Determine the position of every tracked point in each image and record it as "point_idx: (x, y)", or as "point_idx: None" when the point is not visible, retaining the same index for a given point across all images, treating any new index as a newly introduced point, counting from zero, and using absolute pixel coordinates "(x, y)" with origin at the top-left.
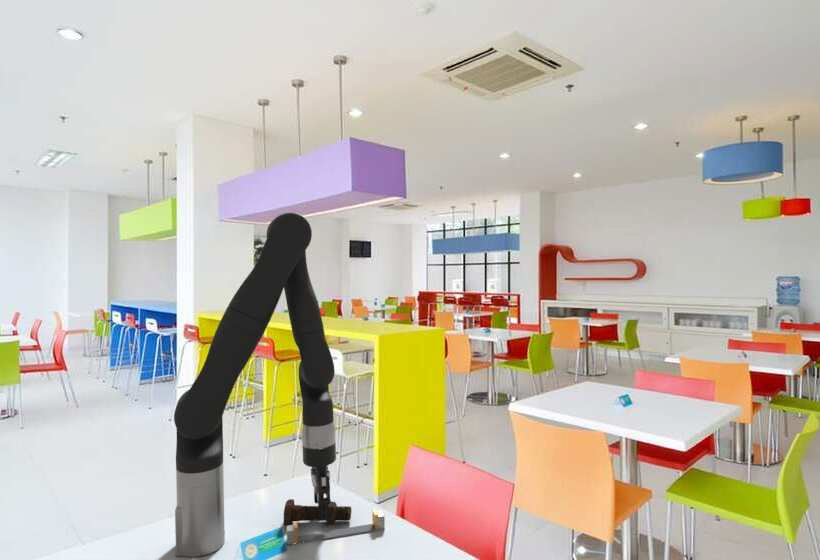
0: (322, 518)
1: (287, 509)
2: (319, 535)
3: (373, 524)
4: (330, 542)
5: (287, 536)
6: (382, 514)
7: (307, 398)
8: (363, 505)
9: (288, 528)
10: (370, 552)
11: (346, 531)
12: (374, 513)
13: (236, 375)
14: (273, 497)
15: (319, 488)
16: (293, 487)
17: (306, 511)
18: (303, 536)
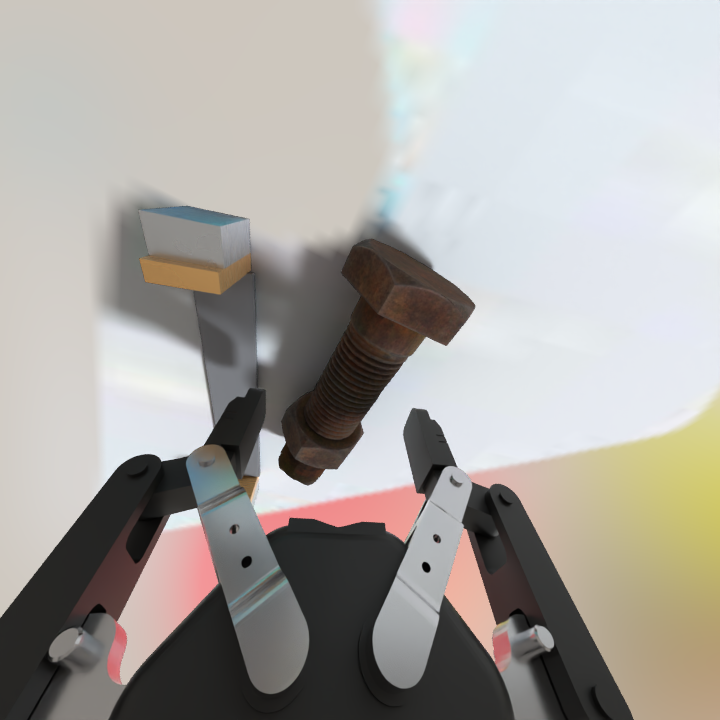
0: (236, 402)
1: (376, 280)
2: (231, 351)
3: (242, 480)
4: (184, 369)
5: (157, 208)
6: None
7: None
8: (377, 482)
9: (178, 228)
10: (106, 438)
11: None
12: None
13: None
14: (691, 268)
15: (15, 610)
16: (673, 364)
17: (345, 363)
18: (239, 296)
